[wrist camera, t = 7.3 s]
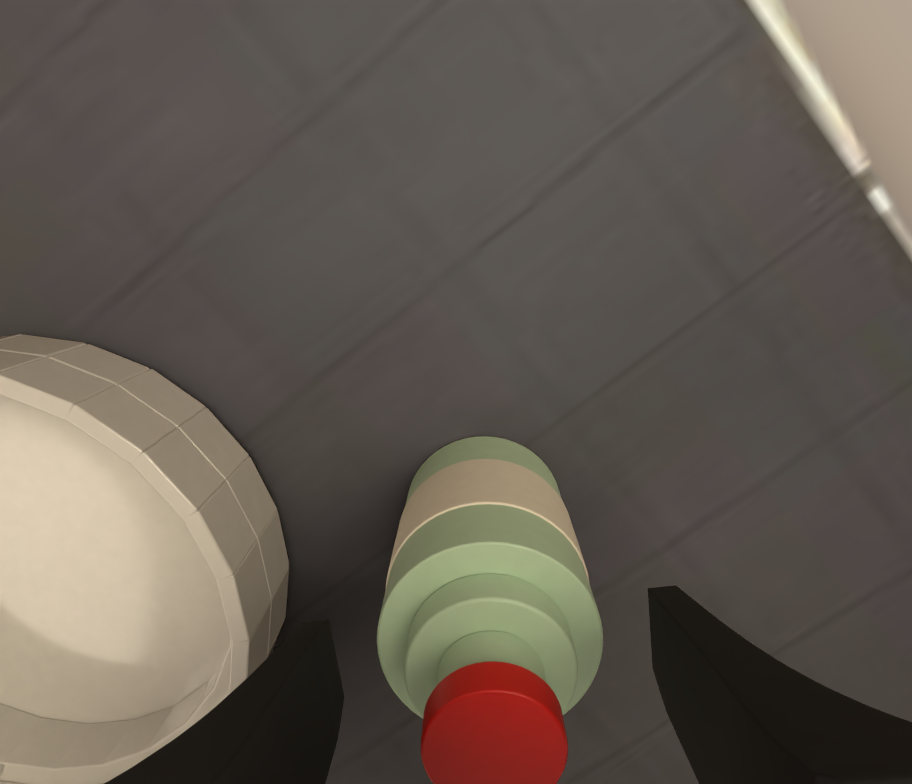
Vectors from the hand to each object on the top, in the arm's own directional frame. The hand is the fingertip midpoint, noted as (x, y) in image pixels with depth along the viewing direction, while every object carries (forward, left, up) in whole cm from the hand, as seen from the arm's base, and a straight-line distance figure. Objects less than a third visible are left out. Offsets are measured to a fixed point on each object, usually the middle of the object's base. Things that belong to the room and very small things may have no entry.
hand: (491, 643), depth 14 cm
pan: (+14, 0, -7) cm, 16 cm away
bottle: (0, 0, -7) cm, 7 cm away
